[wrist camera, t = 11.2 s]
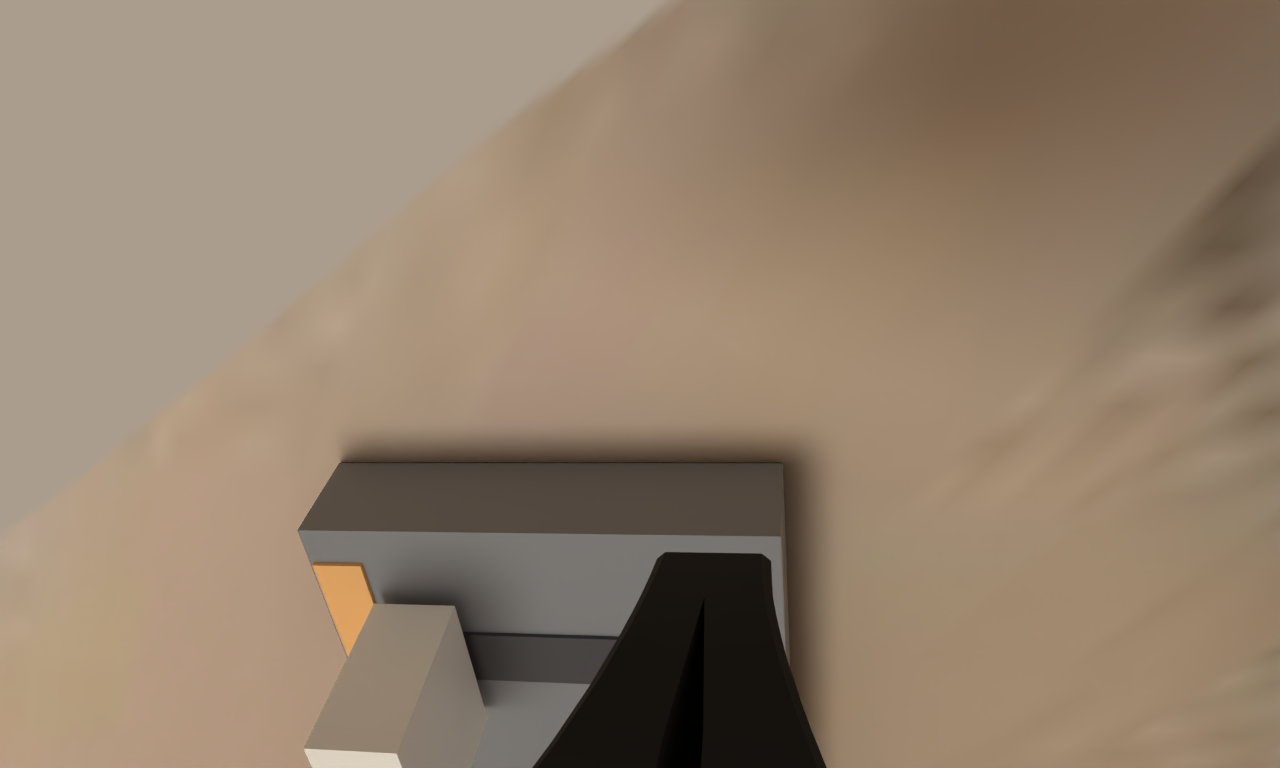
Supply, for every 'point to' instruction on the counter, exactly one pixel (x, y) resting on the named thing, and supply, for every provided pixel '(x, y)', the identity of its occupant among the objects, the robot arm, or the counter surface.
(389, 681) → the block
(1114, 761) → the counter surface
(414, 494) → the board
